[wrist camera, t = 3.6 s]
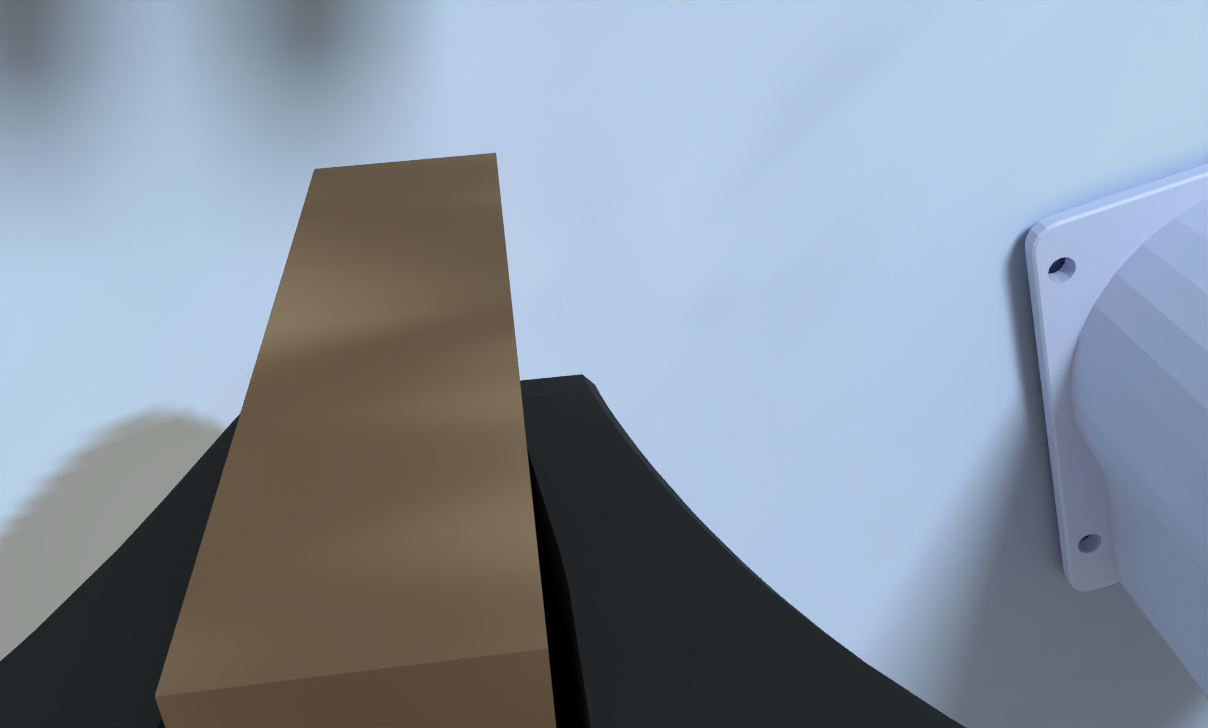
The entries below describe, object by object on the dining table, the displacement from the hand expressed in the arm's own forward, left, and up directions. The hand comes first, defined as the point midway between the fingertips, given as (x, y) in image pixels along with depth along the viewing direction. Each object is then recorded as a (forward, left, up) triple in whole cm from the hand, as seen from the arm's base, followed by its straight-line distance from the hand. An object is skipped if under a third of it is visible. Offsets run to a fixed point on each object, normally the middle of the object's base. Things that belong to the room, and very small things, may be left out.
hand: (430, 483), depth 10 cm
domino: (0, 0, -2) cm, 2 cm away
